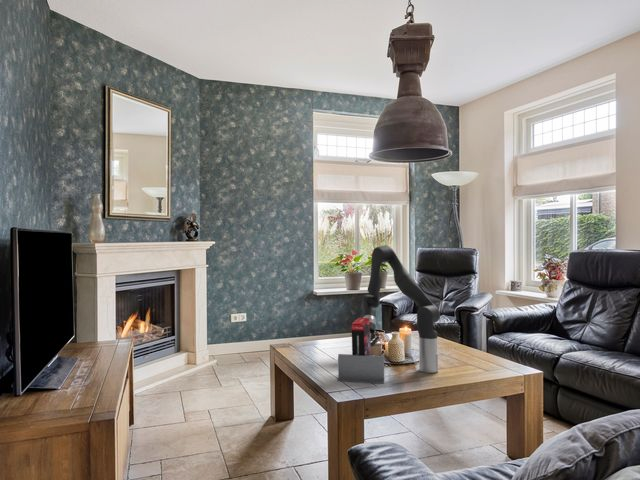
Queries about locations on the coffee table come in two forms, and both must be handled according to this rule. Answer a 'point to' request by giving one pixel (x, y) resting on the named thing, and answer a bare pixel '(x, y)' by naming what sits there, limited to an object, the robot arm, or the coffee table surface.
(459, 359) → the coffee table surface
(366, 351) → the graphics card box
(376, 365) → the bracket
